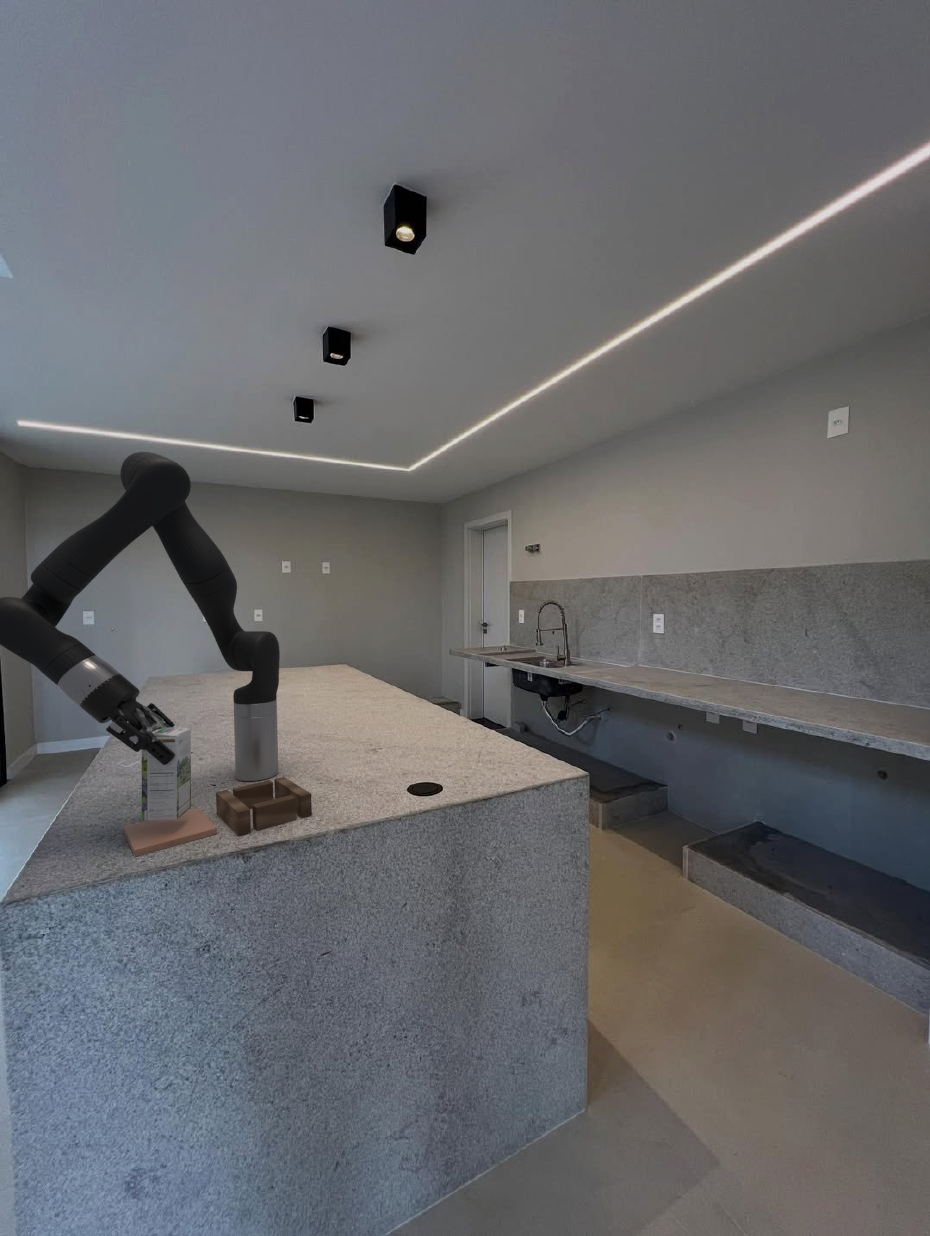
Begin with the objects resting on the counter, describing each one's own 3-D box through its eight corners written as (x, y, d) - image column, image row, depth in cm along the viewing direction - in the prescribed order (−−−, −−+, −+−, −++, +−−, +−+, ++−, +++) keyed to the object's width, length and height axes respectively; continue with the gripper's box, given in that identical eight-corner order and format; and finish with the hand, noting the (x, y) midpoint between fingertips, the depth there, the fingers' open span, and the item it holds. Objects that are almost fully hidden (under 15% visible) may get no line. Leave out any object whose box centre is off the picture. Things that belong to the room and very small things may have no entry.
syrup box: (157, 809, 92) (155, 727, 91) (192, 807, 92) (191, 726, 92) (141, 822, 86) (139, 735, 86) (178, 820, 87) (177, 734, 86)
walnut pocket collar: (216, 813, 98) (216, 792, 97) (284, 796, 106) (284, 776, 106) (238, 836, 88) (238, 812, 88) (311, 814, 96) (311, 793, 96)
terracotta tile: (123, 831, 90) (122, 826, 90) (198, 813, 98) (198, 807, 98) (134, 856, 81) (134, 850, 81) (217, 833, 89) (216, 827, 89)
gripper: (94, 678, 80) (179, 750, 83) (135, 667, 94) (206, 729, 97) (56, 713, 79) (143, 785, 82) (103, 698, 93) (176, 759, 96)
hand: (177, 754), depth 89 cm, fingers closed on syrup box, 6 cm apart
